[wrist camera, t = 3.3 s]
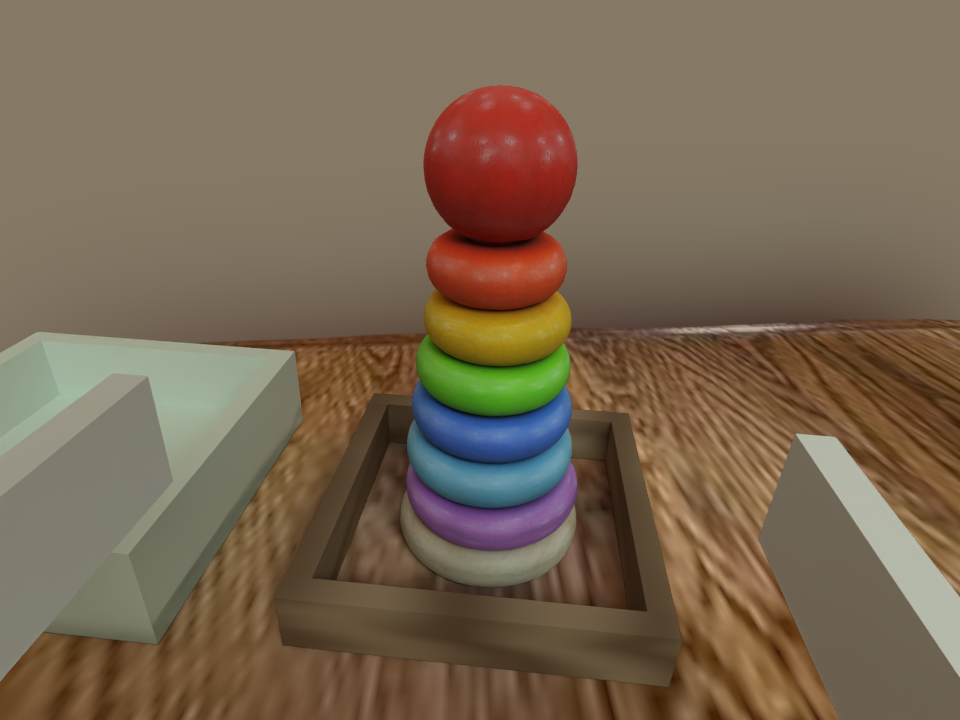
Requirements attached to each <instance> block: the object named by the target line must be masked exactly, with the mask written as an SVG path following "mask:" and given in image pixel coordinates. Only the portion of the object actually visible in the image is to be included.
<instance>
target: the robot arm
mask: <svg viewBox="0 0 960 720" xmlns="http://www.w3.org/2000/svg"><path fill="white" fill-rule="evenodd" d="M172 482H173V478H172V474H171V470H170V466H169V462H168V457H167V453H166V449H165V445H164V441H163V436H162V432H161V428H160V424H159V420H158V416H157V411H156V407H155V403H154V399H153V395H152V390H151V386H150V382H149V378H148V376H140V375H129V374H118V373H112V374H111V375H110V376H108V377H107V378H105V379H104V380H103V381H101V382H100V383H99V384H97V385H96V386H95V387H93V388H92V389H91V390H89V391H88V392H87V393H85V394H84V395H83V396H81V397H80V398H78V399H77V400H76V401H74V402H73V403H72V404H70V405H69V406H68V407H66V408H65V409H64V410H62V411H61V412H60V413H58V414H57V415H56V416H54V417H53V418H52V419H50V420H49V421H47V422H46V423H45V424H43V425H42V426H41V427H39V428H38V429H37V430H35V431H34V432H33V433H31V434H30V435H29V436H27V437H26V438H25V439H23V440H22V441H20V442H19V443H18V444H16V445H15V446H14V447H12V448H11V449H10V450H8V451H7V452H6V453H4V454H3V455H2V456H0V681H1V680H2V679H3V678H4V677H5V675H6V674H7V673H8V672H9V671H10V670H11V668H12V667H13V666H14V665H15V664H16V663H17V662H18V660H19V659H20V658H21V657H22V656H23V655H24V653H25V652H26V651H27V650H28V649H29V648H30V646H31V645H32V644H33V643H34V642H35V641H36V640H37V638H38V637H39V636H40V635H41V634H42V633H43V631H44V630H45V629H46V628H47V627H48V626H49V625H50V623H51V622H52V621H53V620H54V619H55V618H56V616H57V615H58V614H59V613H60V612H61V611H62V609H63V608H64V607H65V606H66V605H67V604H68V603H69V601H70V600H71V599H72V598H73V597H74V596H75V594H76V593H77V592H78V591H79V590H80V589H81V587H82V586H83V585H84V584H85V583H86V582H87V581H88V579H89V578H90V577H91V576H92V575H93V574H94V572H95V571H96V570H97V569H98V568H99V567H100V565H101V564H102V563H103V562H104V561H105V560H106V559H107V557H108V556H109V555H110V554H111V553H112V552H113V550H114V549H115V548H116V547H117V546H118V545H119V544H120V542H121V541H122V540H123V539H124V538H125V537H126V535H127V534H128V533H129V532H130V531H131V530H132V528H133V527H134V526H135V525H136V524H137V523H138V522H139V520H140V519H141V518H142V517H143V516H144V515H145V513H146V512H147V511H148V510H149V509H150V508H151V506H152V505H153V504H154V503H155V502H156V501H157V500H158V498H159V497H160V496H161V495H162V494H163V493H164V491H165V490H166V489H167V488H168V487H169V486H170V484H171V483H172ZM758 540H759V542H760V544H761V547H762V549H763V551H764V553H765V555H766V558H767V560H768V562H769V564H770V567H771V569H772V571H773V573H774V575H775V578H776V580H777V582H778V584H779V587H780V589H781V591H782V593H783V595H784V598H785V600H786V602H787V604H788V607H789V609H790V611H791V613H792V615H793V618H794V620H795V622H796V624H797V627H798V629H799V631H800V633H801V636H802V638H803V640H804V642H805V644H806V647H807V649H808V651H809V653H810V656H811V658H812V660H813V662H814V664H815V667H816V669H817V671H818V673H819V676H820V678H821V680H822V682H823V684H824V687H825V689H826V691H827V693H828V696H829V698H830V700H831V702H832V704H833V707H834V709H835V711H836V713H837V716H838V718H839V720H960V597H959V596H958V594H957V593H956V592H955V591H954V589H953V588H952V587H951V585H950V584H949V583H948V582H947V580H946V579H945V578H944V576H943V575H942V574H941V572H940V571H939V570H938V569H937V567H936V566H935V565H934V563H933V562H932V561H931V560H930V558H929V557H928V556H927V554H926V553H925V552H924V550H923V549H922V548H921V547H920V545H919V544H918V543H917V541H916V540H915V539H914V538H913V536H912V535H911V534H910V532H909V531H908V530H907V529H906V527H905V526H904V525H903V523H902V522H901V521H900V519H899V518H898V517H897V516H896V514H895V513H894V512H893V510H892V509H891V508H890V507H889V505H888V504H887V503H886V501H885V500H884V499H883V497H882V496H881V495H880V494H879V492H878V491H877V490H876V488H875V487H874V486H873V485H872V483H871V482H870V481H869V479H868V478H867V477H866V475H865V474H864V473H863V472H862V470H861V469H860V468H859V466H858V465H857V464H856V463H855V461H854V460H853V459H852V457H851V456H850V455H849V454H848V452H847V451H846V450H845V448H844V447H843V446H842V444H841V443H840V442H839V441H838V439H837V438H836V437H828V436H817V435H806V434H795V436H794V439H793V442H792V445H791V448H790V450H789V453H788V456H787V459H786V462H785V465H784V468H783V470H782V473H781V476H780V479H779V482H778V485H777V488H776V490H775V493H774V496H773V499H772V502H771V505H770V508H769V510H768V513H767V516H766V519H765V522H764V525H763V527H762V530H761V533H760V536H759V539H758Z"/></svg>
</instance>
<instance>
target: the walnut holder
mask: <svg viewBox="0 0 960 720" xmlns="http://www.w3.org/2000/svg"><path fill="white" fill-rule="evenodd" d="M412 397H413V396H403V395H390V394H378V393H374V394H373V396H372V399H371V401H370V403H369V405H368V407H367V409H366V411H365V413H364V415H363V417H362V419H361V421H360V423H359V425H358V427H357V429H356V431H355V433H354V435H353V437H352V440H351V442H350V444H349V446H348V448H347V450H346V452H345V454H344V456H343V458H342V460H341V462H340V464H339V466H338V468H337V470H336V472H335V474H334V476H333V478H332V481H331V483H330V485H329V487H328V489H327V491H326V493H325V495H324V497H323V499H322V501H321V503H320V505H319V507H318V509H317V511H316V513H315V515H314V517H313V520H312V522H311V524H310V526H309V528H308V530H307V532H306V534H305V536H304V538H303V540H302V542H301V544H300V546H299V548H298V550H297V552H296V554H295V556H294V558H293V561H292V563H291V565H290V567H289V569H288V571H287V573H286V575H285V577H284V579H283V581H282V583H281V585H280V587H279V589H278V591H277V593H276V595H275V597H274V599H275V605H276V610H277V616H278V621H279V627H280V633H281V638H282V644H283V645H285V646H294V647H303V648H313V649H322V650H331V651H341V652H350V653H359V654H368V655H378V656H387V657H396V658H405V659H415V660H424V661H433V662H442V663H452V664H461V665H470V666H479V667H489V668H498V669H507V670H516V671H526V672H535V673H544V674H553V675H563V676H572V677H581V678H590V679H600V680H609V681H618V682H627V683H637V684H646V685H655V686H664V687H669V684H670V681H671V677H672V674H673V670H674V667H675V664H676V660H677V657H678V653H679V650H680V647H681V643H682V636H681V632H680V628H679V623H678V619H677V615H676V611H675V607H674V602H673V598H672V594H671V590H670V586H669V582H668V577H667V573H666V569H665V565H664V561H663V556H662V552H661V548H660V544H659V540H658V536H657V531H656V527H655V523H654V519H653V515H652V510H651V506H650V502H649V498H648V494H647V490H646V485H645V481H644V477H643V473H642V469H641V465H640V460H639V456H638V452H637V448H636V444H635V439H634V435H633V431H632V427H631V423H630V419H629V414H628V413H617V412H604V411H592V410H579V409H572V415H571V419H570V422H569V425H568V430H569V432H570V435H571V440H572V456H571V457H572V458H584V459H596V460H605V462H606V469H607V475H608V481H609V488H610V494H611V501H612V507H613V514H614V520H615V526H616V533H617V539H618V546H619V552H620V559H621V565H622V571H623V578H624V584H625V591H626V597H627V603H628V610H624V609H614V608H604V607H594V606H584V605H574V604H564V603H554V602H544V601H535V600H525V599H515V598H505V597H495V596H485V595H475V594H465V593H455V592H445V591H435V590H425V589H415V588H405V587H395V586H385V585H375V584H365V583H355V582H345V581H336V578H337V575H338V573H339V570H340V568H341V565H342V563H343V560H344V557H345V555H346V552H347V550H348V547H349V544H350V542H351V539H352V537H353V534H354V532H355V529H356V526H357V524H358V521H359V519H360V516H361V514H362V511H363V508H364V506H365V503H366V501H367V498H368V496H369V493H370V490H371V488H372V485H373V483H374V480H375V477H376V475H377V472H378V470H379V467H380V465H381V462H382V459H383V457H384V454H385V452H386V449H387V447H388V444H389V442H395V443H407V438H408V433H409V429H410V426H411V424H412V422H413V420H414V415H413V411H412Z"/></svg>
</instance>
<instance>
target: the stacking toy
mask: <svg viewBox="0 0 960 720" xmlns="http://www.w3.org/2000/svg"><path fill="white" fill-rule="evenodd" d="M576 174H577V151H576V147H575V142H574V138H573V135H572V132H571V131H570V128H569V126H568V124H567V122H566V121H565V119H564V118H563V117H562V115H561V114H560V113H559V112H558V110H557V109H556V108H555V107H554V106H553V105H552V104H551V103H549V102H548V101H547V100H546V99H544V98H543V97H541V96H540V95H538V94H536V93H534V92H531V91H529V90H525V89H522V88H518V87H512V86H488V87H484V88H480V89H476V90H473V91H470V92H468V93H466V94H464V95H462V96H461V97H459V98H458V99H457V100H455V101H454V102H453V103H451V104H450V105H449V106H448V107H447V108H446V109H445V110H444V111H443V112H442V114H441V115H440V116H439V118H438V119H437V121H436V122H435V124H434V126H433V128H432V130H431V132H430V134H429V137H428V140H427V143H426V148H425V153H424V176H425V182H426V187H427V191H428V193H429V196H430V198H431V201H432V202H433V205H434V207H435V209H436V210H437V212H438V213H439V214H440V216H441V217H442V218H443V219H444V221H445V222H446V223H447V224H448V225H449V226H450V227H452V228H453V229H451V230H449V231H447V232H445V233H444V234H442V235H441V236H439V237H438V238H437V239H436V240H435V241H434V242H433V244H432V245H431V247H430V248H429V251H428V254H427V259H426V260H427V261H426V267H427V271H428V276H429V278H430V280H431V282H432V284H433V285H434V287H435V288H436V290H435V291H434V292H433V293H432V295H431V296H430V297H429V299H428V302H427V304H426V306H425V311H424V325H425V328H426V331H427V333H428V334H427V335H426V337H425V338H424V339H423V340H422V342H421V344H420V346H419V349H418V351H417V357H416V366H417V372H418V375H419V378H420V380H419V381H418V383H417V385H416V387H415V390H414V393H413V397H412V411H413V415H414V420H413V422H412V424H411V426H410V429H409V433H408V438H407V452H408V457H409V461H410V464H409V467H408V471H407V476H406V489H407V490H406V492H405V494H404V497H403V499H402V503H401V510H400V522H401V528H402V532H403V535H404V538H405V540H406V542H407V544H408V546H409V548H410V550H411V551H412V552H413V554H414V555H415V556H416V557H417V558H418V560H419V561H421V562H422V563H423V564H424V565H425V566H426V567H427V568H429V569H430V570H432V571H433V572H435V573H436V574H438V575H440V576H442V577H444V578H446V579H448V580H451V581H454V582H456V583H460V584H464V585H468V586H475V587H489V588H495V587H506V586H512V585H517V584H521V583H524V582H528V581H530V580H533V579H535V578H537V577H539V576H541V575H543V574H545V573H546V572H548V571H549V570H550V569H552V568H553V567H554V566H555V565H556V564H557V563H558V562H559V561H560V560H561V559H562V558H563V557H564V555H565V554H566V552H567V550H568V549H569V547H570V545H571V542H572V540H573V537H574V534H575V529H576V511H575V506H574V503H575V501H576V496H577V486H578V484H577V476H576V472H575V469H574V466H573V464H572V462H571V456H572V440H571V435H570V432H569V430H568V425H569V422H570V419H571V415H572V404H571V398H570V395H569V392H568V390H567V388H566V386H565V385H566V383H567V381H568V377H569V373H570V357H569V354H568V351H567V348H566V346H565V345H564V342H565V340H566V339H567V337H568V335H569V332H570V329H571V312H570V309H569V306H568V304H567V302H566V301H565V299H564V298H563V297H562V295H561V294H560V293H558V292H557V290H558V289H559V287H560V286H561V285H562V283H563V281H564V278H565V274H566V271H567V259H566V255H565V253H564V251H563V248H562V247H561V245H560V244H559V243H558V242H557V241H556V240H555V239H554V238H553V237H552V236H550V235H548V234H546V233H544V232H543V231H544V230H546V229H547V228H548V227H549V226H550V225H551V224H553V223H554V222H555V220H557V218H558V217H559V216H560V214H561V213H562V212H563V210H564V208H565V207H566V205H567V203H568V201H569V200H570V198H571V195H572V192H573V188H574V186H575V181H576Z"/></svg>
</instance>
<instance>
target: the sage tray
mask: <svg viewBox="0 0 960 720" xmlns="http://www.w3.org/2000/svg"><path fill="white" fill-rule="evenodd" d="M112 373H118V374H129V375H140V376H148V378H149V382H150V386H151V390H152V395H153V399H154V403H155V407H156V411H157V416H158V420H159V424H160V428H161V432H162V436H163V441H164V445H165V449H166V453H167V457H168V462H169V466H170V470H171V474H172V478H173V482H172V483H171V484H170V486H169V487H168V488H167V489H166V490H165V491H164V493H163V494H162V495H161V496H160V497H159V498H158V500H157V501H156V502H155V503H154V504H153V505H152V506H151V508H150V509H149V510H148V511H147V512H146V513H145V515H144V516H143V517H142V518H141V519H140V520H139V522H138V523H137V524H136V525H135V526H134V527H133V528H132V530H131V531H130V532H129V533H128V534H127V535H126V537H125V538H124V539H123V540H122V541H121V542H120V544H119V545H118V546H117V547H116V548H115V549H114V550H113V552H112V553H111V554H110V555H109V556H108V557H107V559H106V560H105V561H104V562H103V563H102V564H101V565H100V567H99V568H98V569H97V570H96V571H95V572H94V574H93V575H92V576H91V577H90V578H89V579H88V581H87V582H86V583H85V584H84V585H83V586H82V587H81V589H80V590H79V591H78V592H77V593H76V594H75V596H74V597H73V598H72V599H71V600H70V601H69V603H68V604H67V605H66V606H65V607H64V608H63V609H62V611H61V612H60V613H59V614H58V615H57V616H56V618H55V619H54V620H53V621H52V622H51V623H50V625H49V626H48V627H47V628H46V629H45V630H44V631H43V632H49V633H58V634H67V635H76V636H86V637H95V638H104V639H113V640H122V641H131V642H140V643H149V644H158V643H159V642H160V640H161V638H162V637H163V635H164V634H165V632H166V631H167V629H168V628H169V626H170V625H171V623H172V621H173V620H174V618H175V617H176V615H177V614H178V612H179V611H180V609H181V608H182V606H183V604H184V603H185V601H186V600H187V598H188V597H189V595H190V594H191V592H192V590H193V589H194V587H195V586H196V584H197V583H198V581H199V580H200V578H201V577H202V575H203V573H204V572H205V570H206V569H207V567H208V566H209V564H210V563H211V561H212V560H213V558H214V556H215V555H216V553H217V552H218V550H219V549H220V547H221V546H222V544H223V542H224V541H225V539H226V538H227V536H228V535H229V533H230V532H231V530H232V529H233V527H234V525H235V524H236V522H237V521H238V519H239V518H240V516H241V515H242V513H243V511H244V510H245V508H246V507H247V505H248V504H249V502H250V501H251V499H252V498H253V496H254V494H255V493H256V491H257V490H258V488H259V487H260V485H261V484H262V482H263V481H264V479H265V477H266V476H267V474H268V473H269V471H270V470H271V468H272V467H273V465H274V463H275V462H276V460H277V459H278V457H279V456H280V454H281V453H282V451H283V450H284V448H285V446H286V445H287V443H288V442H289V440H290V439H291V437H292V436H293V434H294V432H295V431H296V429H297V428H298V426H299V425H300V423H301V422H302V420H303V415H302V407H301V399H300V391H299V383H298V374H297V366H296V358H295V351H285V350H272V349H258V348H245V347H232V346H219V345H205V344H192V343H179V342H178V343H177V342H165V341H152V340H139V339H125V338H112V337H99V336H86V335H71V334H60V333H59V334H58V333H46V332H37V333H35V334H33V335H31V336H30V337H28V338H26V339H24V340H22V341H21V342H19V343H17V344H15V345H14V346H12V347H10V348H8V349H6V350H5V351H3V352H1V353H0V456H2V455H3V454H4V453H6V452H7V451H8V450H10V449H11V448H12V447H14V446H15V445H16V444H18V443H19V442H20V441H22V440H23V439H25V438H26V437H27V436H29V435H30V434H31V433H33V432H34V431H35V430H37V429H38V428H39V427H41V426H42V425H43V424H45V423H46V422H47V421H49V420H50V419H52V418H53V417H54V416H56V415H57V414H58V413H60V412H61V411H62V410H64V409H65V408H66V407H68V406H69V405H70V404H72V403H73V402H74V401H76V400H77V399H78V398H80V397H81V396H83V395H84V394H85V393H87V392H88V391H89V390H91V389H92V388H93V387H95V386H96V385H97V384H99V383H100V382H101V381H103V380H104V379H105V378H107V377H108V376H110V375H111V374H112Z"/></svg>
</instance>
